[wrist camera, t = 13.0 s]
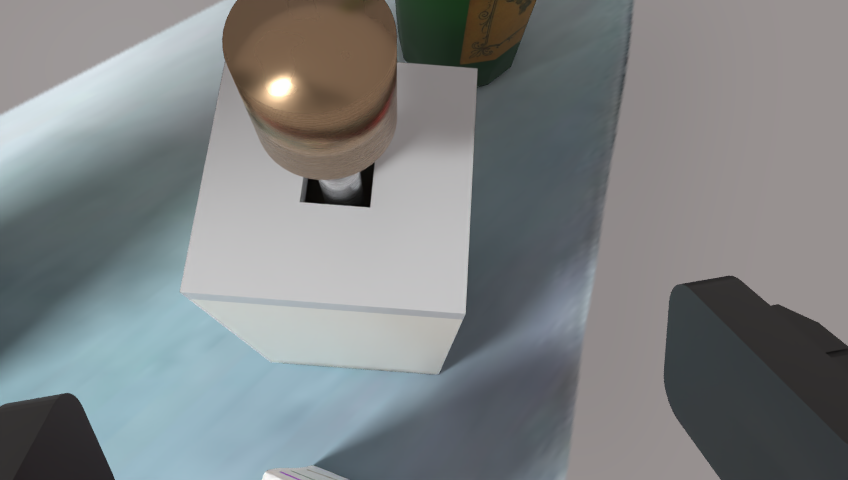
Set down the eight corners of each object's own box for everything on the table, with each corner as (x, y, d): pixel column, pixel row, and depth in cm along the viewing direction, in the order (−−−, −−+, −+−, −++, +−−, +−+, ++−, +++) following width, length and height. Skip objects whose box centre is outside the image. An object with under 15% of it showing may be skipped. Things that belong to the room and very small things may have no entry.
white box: (271, 362, 39) (179, 292, 23) (293, 206, 42) (227, 48, 26) (438, 374, 39) (465, 313, 23) (447, 218, 42) (477, 68, 26)
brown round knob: (307, 289, 33) (208, 105, 16) (318, 208, 34) (237, -41, 17) (394, 296, 33) (389, 119, 16) (401, 215, 34) (403, -27, 17)
